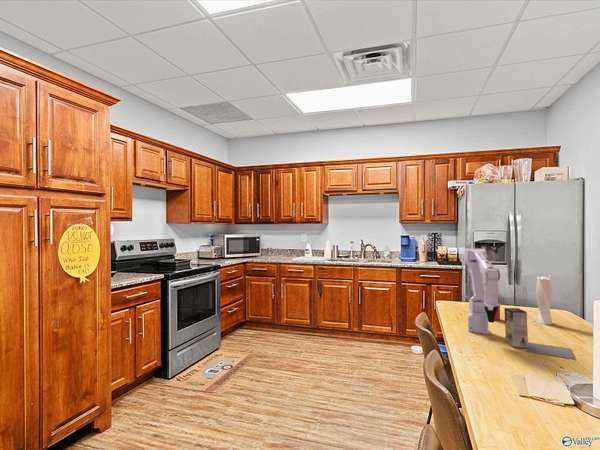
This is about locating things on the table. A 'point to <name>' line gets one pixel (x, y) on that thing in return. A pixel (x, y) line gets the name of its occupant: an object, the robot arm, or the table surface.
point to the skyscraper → (544, 300)
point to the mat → (550, 350)
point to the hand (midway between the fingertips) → (491, 322)
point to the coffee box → (516, 327)
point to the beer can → (497, 315)
